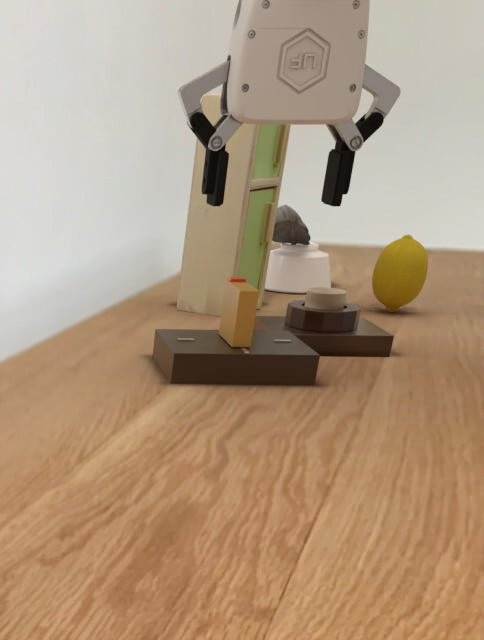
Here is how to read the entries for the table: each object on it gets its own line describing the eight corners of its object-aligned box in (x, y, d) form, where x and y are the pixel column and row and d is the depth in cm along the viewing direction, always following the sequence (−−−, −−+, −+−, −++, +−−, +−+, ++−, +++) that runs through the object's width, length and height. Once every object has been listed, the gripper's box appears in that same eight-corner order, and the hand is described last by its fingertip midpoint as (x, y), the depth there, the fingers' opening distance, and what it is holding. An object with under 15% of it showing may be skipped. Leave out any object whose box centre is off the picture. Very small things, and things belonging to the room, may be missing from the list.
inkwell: (338, 285, 139) (355, 197, 134) (304, 308, 126) (321, 211, 120) (265, 279, 143) (278, 193, 138) (224, 300, 130) (237, 206, 124)
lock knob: (250, 347, 93) (260, 287, 90) (231, 347, 93) (240, 287, 90) (236, 334, 98) (244, 276, 95) (218, 334, 98) (226, 276, 95)
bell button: (336, 306, 107) (340, 287, 106) (348, 313, 104) (352, 294, 103) (299, 306, 107) (302, 287, 106) (309, 313, 104) (313, 293, 103)
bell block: (358, 340, 111) (367, 297, 109) (389, 360, 103) (398, 315, 101) (248, 338, 111) (255, 296, 109) (270, 358, 103) (278, 313, 101)
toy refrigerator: (233, 319, 120) (265, 94, 109) (174, 310, 124) (200, 93, 113) (268, 310, 125) (303, 94, 114) (211, 301, 129) (238, 92, 118)
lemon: (417, 318, 121) (435, 239, 117) (364, 314, 123) (380, 236, 118) (417, 310, 125) (435, 233, 121) (366, 306, 127) (381, 230, 123)
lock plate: (282, 365, 101) (289, 328, 99) (313, 392, 92) (320, 353, 91) (151, 363, 101) (155, 327, 100) (169, 390, 93) (174, 351, 91)
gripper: (204, -54, 79) (176, 209, 88) (444, -54, 79) (393, 209, 88) (183, -44, 86) (159, 200, 95) (405, -44, 86) (361, 200, 95)
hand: (272, 204), depth 91 cm, fingers open, 9 cm apart
